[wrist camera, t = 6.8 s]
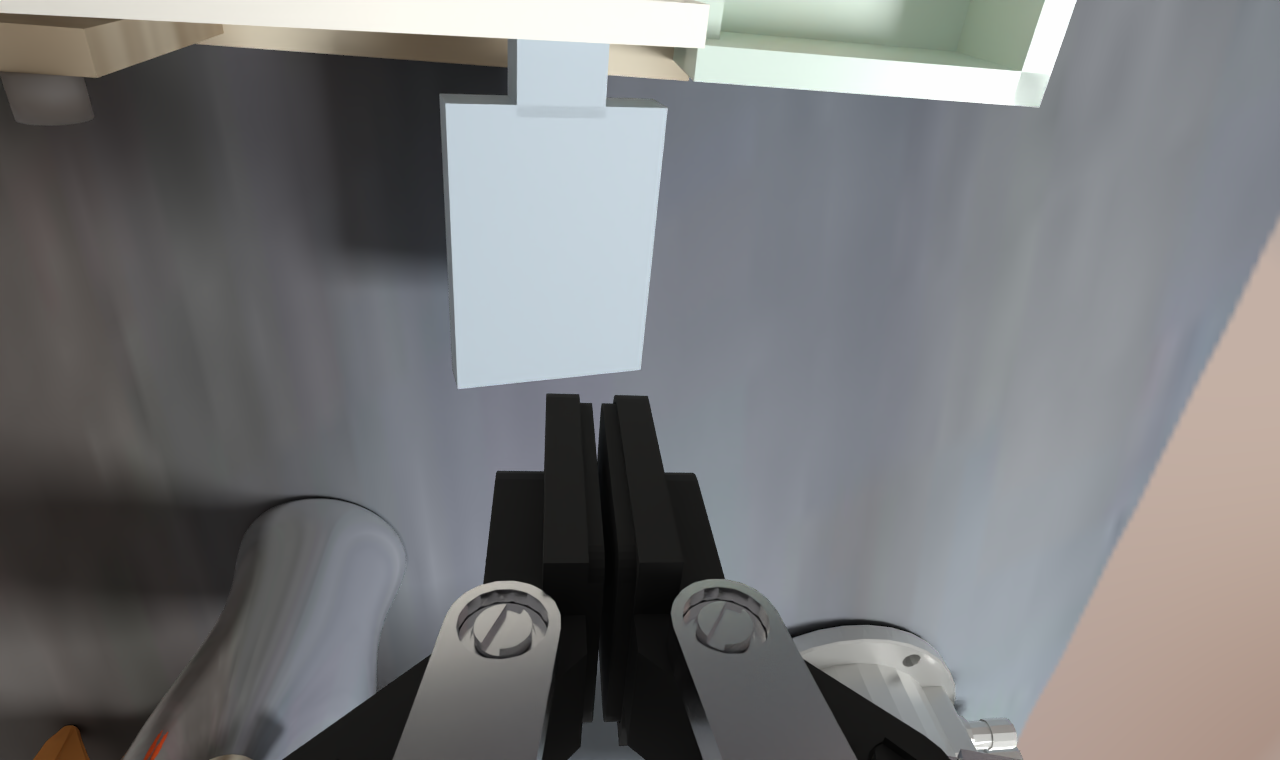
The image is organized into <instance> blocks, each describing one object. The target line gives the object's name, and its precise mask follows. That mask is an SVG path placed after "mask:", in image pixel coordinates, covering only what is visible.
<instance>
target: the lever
mask: <svg viewBox="0 0 1280 760" xmlns="http://www.w3.org/2000/svg"><path fill="white" fill-rule="evenodd" d="M709 9H710V5H709V4H706V3H702V2H698V1H694V0H0V13H15V14H34V15H54V16H74V17H94V18H113V19H133V20H153V21H172V22H192V23H212V24H232V25H251V26H271V27H291V28H310V29H330V30H350V31H370V32H389V33H409V34H429V35H449V36H468V37H488V38H508V95H473V94H439V98H440V119H441V140H442V162H443V183H444V204H445V225H446V247H447V268H448V289H449V310H450V332H451V353H452V370H453V374H454V377H455V381H456V385H457V388H458V389H463V388H472V387H482V386H491V385H501V384H510V383H520V382H529V381H539V380H548V379H558V378H567V377H576V376H586V375H595V374H605V373H614V372H624V371H633V370H641V360H642V350H643V341H644V331H645V321H646V312H647V302H648V292H649V283H650V273H651V263H652V254H653V244H654V234H655V225H656V215H657V205H658V196H659V186H660V177H661V167H662V157H663V148H664V138H665V128H666V119H667V109H668V108H667V107H665V106H663V105H662V104H660V103H658V102H657V101H655V100H653V99H633V98H606V93H607V77H608V61H609V45H610V44H626V45H646V46H665V47H685V48H705V41H706V33H707V25H708V17H709Z"/></svg>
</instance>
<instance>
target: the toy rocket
mask: <svg viewBox="0 0 1280 760" xmlns="http://www.w3.org/2000/svg"><path fill="white" fill-rule="evenodd" d="M33 760H90V759H89V757H88V754H87V752H86V749H85V747H84V744H83V741H82V738H81V734H80V731H79V729H78V728H77V727H75V726H73V725H69V726H64V727H63V728H62V729H61V730H59V731H58V732H57V733H56V734H55V735H53V736H52V737H51V738H50V739H49V740H47V741H46V742H45V744H44V745H43V747H42V748H41V749H40V751H39V752H38V754H37V755H36V756H35V758H34V759H33Z"/></svg>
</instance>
